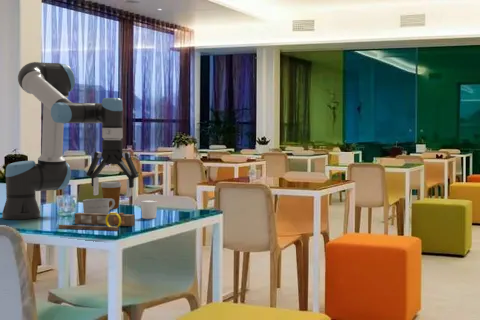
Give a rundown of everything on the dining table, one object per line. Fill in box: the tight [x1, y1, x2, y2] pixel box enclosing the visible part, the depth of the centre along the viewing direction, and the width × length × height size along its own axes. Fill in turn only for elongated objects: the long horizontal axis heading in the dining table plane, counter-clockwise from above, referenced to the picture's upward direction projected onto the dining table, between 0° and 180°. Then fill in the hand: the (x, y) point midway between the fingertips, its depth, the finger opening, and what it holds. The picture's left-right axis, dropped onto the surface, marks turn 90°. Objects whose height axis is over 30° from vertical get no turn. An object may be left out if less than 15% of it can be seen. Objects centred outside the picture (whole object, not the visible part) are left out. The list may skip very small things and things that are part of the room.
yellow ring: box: [105, 211, 121, 227], centre depth 267 cm, size 6×3×6 cm, turn 73°
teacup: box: [82, 197, 115, 214], centre depth 295 cm, size 14×11×8 cm
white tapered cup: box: [140, 199, 158, 220], centre depth 295 cm, size 7×7×7 cm
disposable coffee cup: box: [100, 181, 122, 210], centre depth 328 cm, size 10×10×12 cm
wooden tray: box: [58, 212, 136, 232], centre depth 270 cm, size 24×15×5 cm, turn 74°
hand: (112, 195), depth 267 cm, fingers open, 13 cm apart
